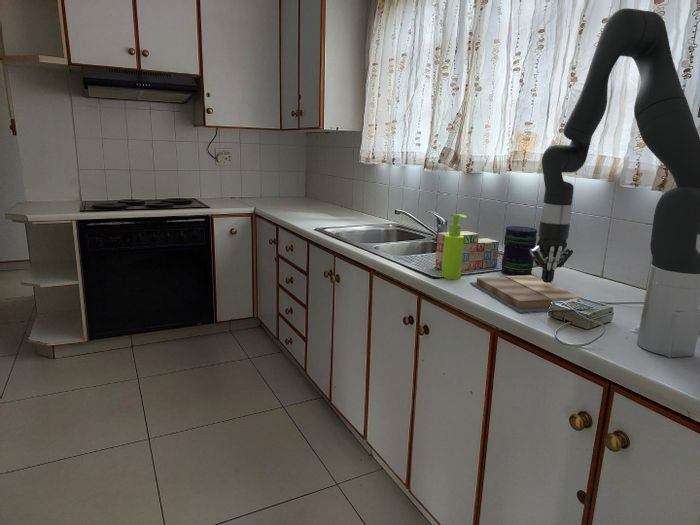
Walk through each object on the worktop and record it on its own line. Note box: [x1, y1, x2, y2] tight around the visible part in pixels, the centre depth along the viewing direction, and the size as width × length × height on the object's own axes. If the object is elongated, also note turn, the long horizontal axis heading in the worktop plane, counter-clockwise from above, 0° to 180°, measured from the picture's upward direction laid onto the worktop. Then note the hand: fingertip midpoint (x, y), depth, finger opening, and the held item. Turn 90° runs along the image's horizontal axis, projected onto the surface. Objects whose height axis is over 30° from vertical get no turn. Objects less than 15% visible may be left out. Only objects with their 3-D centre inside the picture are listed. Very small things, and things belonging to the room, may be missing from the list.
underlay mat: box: [469, 281, 549, 314], centre depth 131 cm, size 26×22×1 cm
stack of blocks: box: [434, 230, 500, 271], centre depth 160 cm, size 21×6×12 cm, turn 113°
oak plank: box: [504, 275, 583, 305], centre depth 132 cm, size 22×9×2 cm, turn 14°
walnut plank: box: [476, 276, 551, 309], centre depth 130 cm, size 22×9×2 cm, turn 14°
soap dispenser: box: [441, 213, 468, 280], centre depth 146 cm, size 6×7×20 cm
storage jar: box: [500, 225, 538, 276], centre depth 154 cm, size 10×10×15 cm
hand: (547, 282), depth 132 cm, fingers closed
